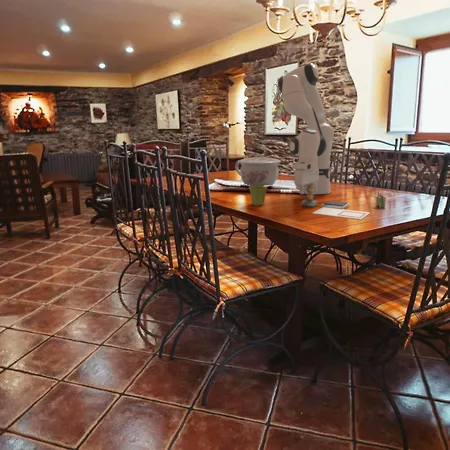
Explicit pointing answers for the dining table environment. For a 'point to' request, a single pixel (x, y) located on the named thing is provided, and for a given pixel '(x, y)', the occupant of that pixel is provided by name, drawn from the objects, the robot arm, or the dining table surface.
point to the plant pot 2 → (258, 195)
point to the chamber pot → (258, 170)
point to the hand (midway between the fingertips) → (306, 192)
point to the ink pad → (335, 204)
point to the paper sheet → (341, 213)
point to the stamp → (309, 198)
